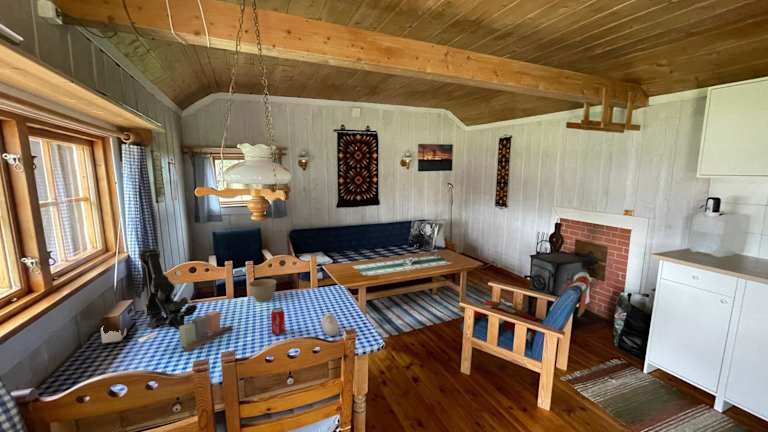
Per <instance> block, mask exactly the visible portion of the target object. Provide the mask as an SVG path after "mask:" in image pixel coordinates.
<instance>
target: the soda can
mask: <svg viewBox="0 0 768 432" xmlns="http://www.w3.org/2000/svg"><path fill="white" fill-rule="evenodd" d="M270 321H271V324H270V325H271V327H270V328H271V334H272V335H276V336H279V335H282V334H283V333H285V327H286V324H285V323H286V322H285V311H284V308H282V307H275V308H273V309H271V313H270Z"/></svg>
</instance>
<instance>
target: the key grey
mask: <svg viewBox="0 0 768 432" xmlns="http://www.w3.org/2000/svg"><path fill="white" fill-rule="evenodd" d="M191 323H192V324H195V338H196V340H197V341H198V340H200V339H202V338H204V337H206V336H208V332H207V321H206V316H203V315H200V316H197V317H195V318H192V319H191Z"/></svg>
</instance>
